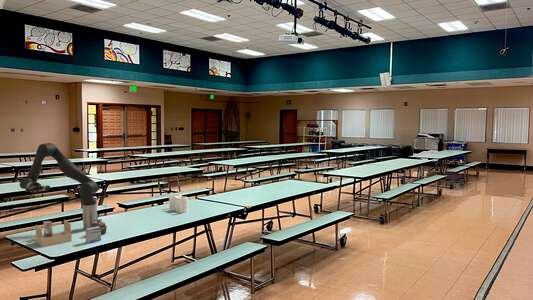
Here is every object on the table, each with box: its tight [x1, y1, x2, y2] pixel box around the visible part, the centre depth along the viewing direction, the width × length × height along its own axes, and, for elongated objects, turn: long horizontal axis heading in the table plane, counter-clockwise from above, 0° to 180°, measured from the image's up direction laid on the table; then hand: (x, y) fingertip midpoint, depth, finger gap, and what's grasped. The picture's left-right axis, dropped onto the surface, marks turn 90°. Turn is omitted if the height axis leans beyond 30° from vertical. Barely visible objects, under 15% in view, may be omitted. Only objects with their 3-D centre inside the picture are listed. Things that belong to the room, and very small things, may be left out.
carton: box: [31, 219, 73, 248], centre depth 253 cm, size 17×25×11 cm
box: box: [43, 220, 53, 238], centre depth 258 cm, size 4×5×10 cm
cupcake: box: [91, 218, 108, 236], centre depth 265 cm, size 10×10×10 cm
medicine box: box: [84, 226, 102, 244], centre depth 249 cm, size 8×4×9 cm, turn 138°
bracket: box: [168, 193, 189, 214], centre depth 336 cm, size 25×10×12 cm, turn 34°
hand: (40, 189), depth 265 cm, fingers open, 8 cm apart
